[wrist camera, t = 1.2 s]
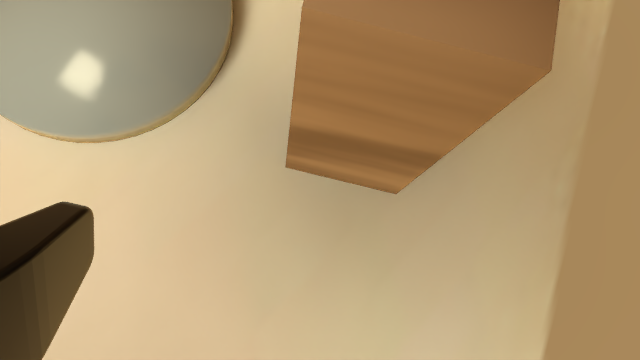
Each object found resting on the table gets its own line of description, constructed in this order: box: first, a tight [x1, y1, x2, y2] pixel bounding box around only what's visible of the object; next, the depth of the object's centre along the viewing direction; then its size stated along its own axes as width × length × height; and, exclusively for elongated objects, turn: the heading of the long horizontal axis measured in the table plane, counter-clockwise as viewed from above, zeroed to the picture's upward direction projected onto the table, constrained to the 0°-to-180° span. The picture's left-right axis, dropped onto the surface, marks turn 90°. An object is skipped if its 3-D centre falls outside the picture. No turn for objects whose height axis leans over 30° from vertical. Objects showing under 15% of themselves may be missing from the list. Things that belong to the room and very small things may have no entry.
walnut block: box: [286, 0, 560, 194], centre depth 16 cm, size 5×5×12 cm
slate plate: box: [0, 0, 233, 143], centre depth 22 cm, size 12×12×1 cm
